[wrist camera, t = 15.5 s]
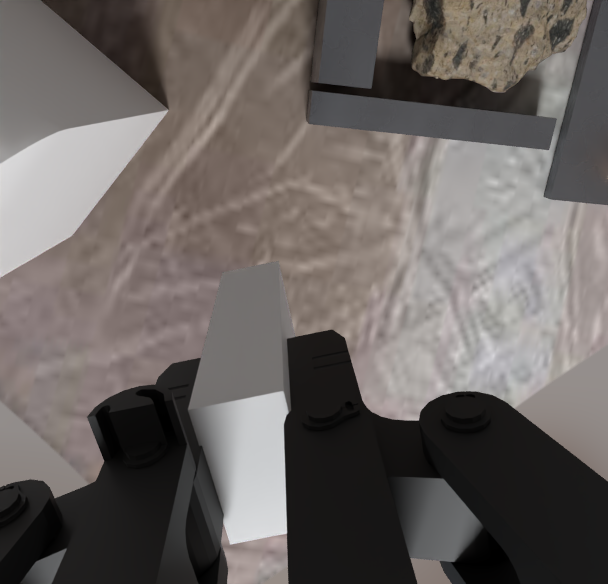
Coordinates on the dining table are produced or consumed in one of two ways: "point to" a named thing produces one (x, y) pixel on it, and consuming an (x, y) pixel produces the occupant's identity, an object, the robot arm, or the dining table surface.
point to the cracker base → (458, 120)
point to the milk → (59, 128)
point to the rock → (491, 37)
